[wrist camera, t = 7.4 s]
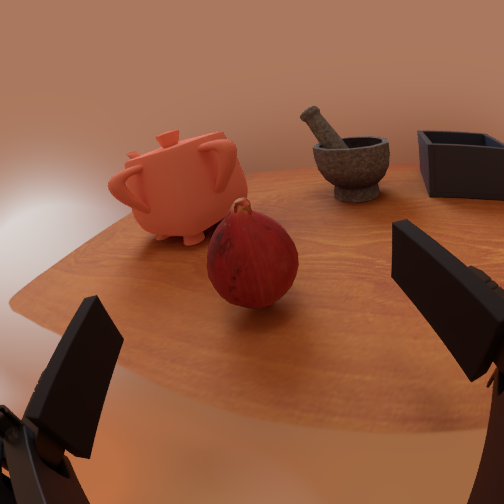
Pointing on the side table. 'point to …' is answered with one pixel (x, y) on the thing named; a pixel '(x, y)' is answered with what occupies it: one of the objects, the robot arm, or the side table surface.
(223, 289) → the onion
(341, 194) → the mortar and pestle
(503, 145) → the dark blue open box
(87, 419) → the robot arm
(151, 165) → the teapot
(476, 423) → the side table surface
